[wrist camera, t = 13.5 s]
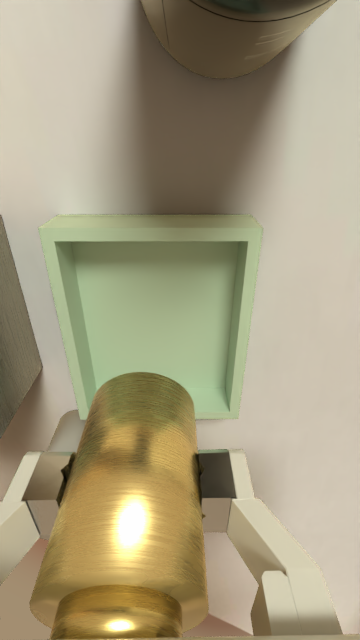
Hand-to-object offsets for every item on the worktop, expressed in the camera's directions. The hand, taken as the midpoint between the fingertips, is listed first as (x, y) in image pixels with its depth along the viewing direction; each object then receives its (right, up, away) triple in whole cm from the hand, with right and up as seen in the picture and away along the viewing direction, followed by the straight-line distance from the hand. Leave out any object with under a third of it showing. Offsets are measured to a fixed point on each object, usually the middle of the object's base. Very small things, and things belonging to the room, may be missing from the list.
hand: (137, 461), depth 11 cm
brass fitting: (0, +1, +2) cm, 2 cm away
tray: (0, +5, +9) cm, 10 cm away
